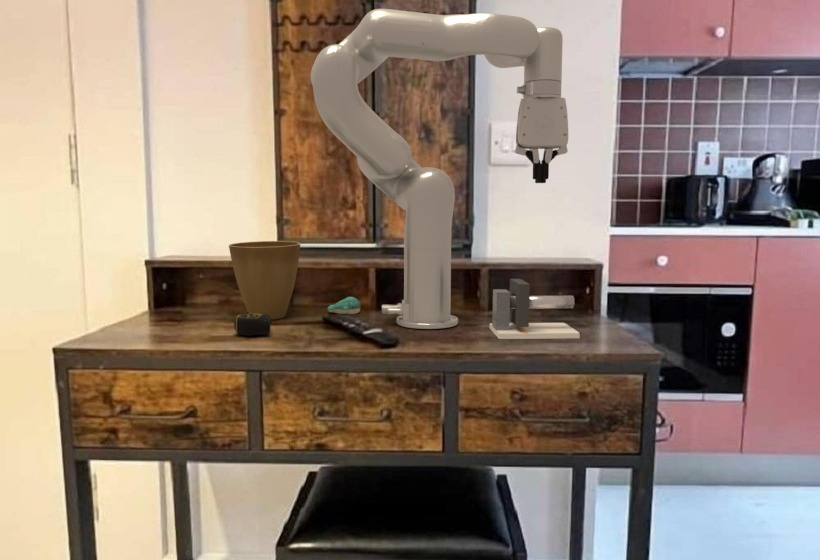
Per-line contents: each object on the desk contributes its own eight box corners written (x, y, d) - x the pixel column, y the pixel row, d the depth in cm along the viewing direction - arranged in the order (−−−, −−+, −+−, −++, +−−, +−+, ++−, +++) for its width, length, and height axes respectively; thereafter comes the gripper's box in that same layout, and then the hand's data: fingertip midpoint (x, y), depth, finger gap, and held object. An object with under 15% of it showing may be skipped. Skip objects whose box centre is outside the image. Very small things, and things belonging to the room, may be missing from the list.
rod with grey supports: (496, 330, 123) (496, 292, 122) (492, 326, 127) (493, 289, 126) (574, 329, 124) (576, 292, 123) (568, 325, 128) (569, 289, 127)
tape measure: (270, 338, 121) (270, 318, 121) (232, 339, 120) (232, 319, 120) (272, 330, 128) (272, 311, 127) (236, 331, 127) (235, 312, 126)
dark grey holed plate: (517, 327, 121) (518, 284, 120) (509, 319, 129) (509, 278, 128) (528, 327, 121) (529, 284, 120) (519, 319, 129) (520, 278, 128)
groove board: (499, 339, 120) (499, 333, 120) (489, 328, 130) (489, 322, 130) (579, 338, 121) (579, 332, 121) (563, 327, 131) (564, 322, 130)
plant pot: (245, 310, 149) (243, 240, 147) (309, 311, 148) (307, 241, 146) (220, 323, 135) (217, 245, 132) (291, 324, 133) (289, 246, 131)
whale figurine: (361, 315, 144) (361, 298, 144) (327, 316, 143) (327, 299, 143) (359, 311, 150) (359, 294, 150) (327, 311, 149) (327, 295, 149)
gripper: (509, 89, 130) (507, 182, 132) (583, 89, 130) (581, 182, 133) (503, 95, 137) (501, 183, 140) (574, 95, 138) (571, 183, 140)
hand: (540, 182), depth 136 cm, fingers closed
